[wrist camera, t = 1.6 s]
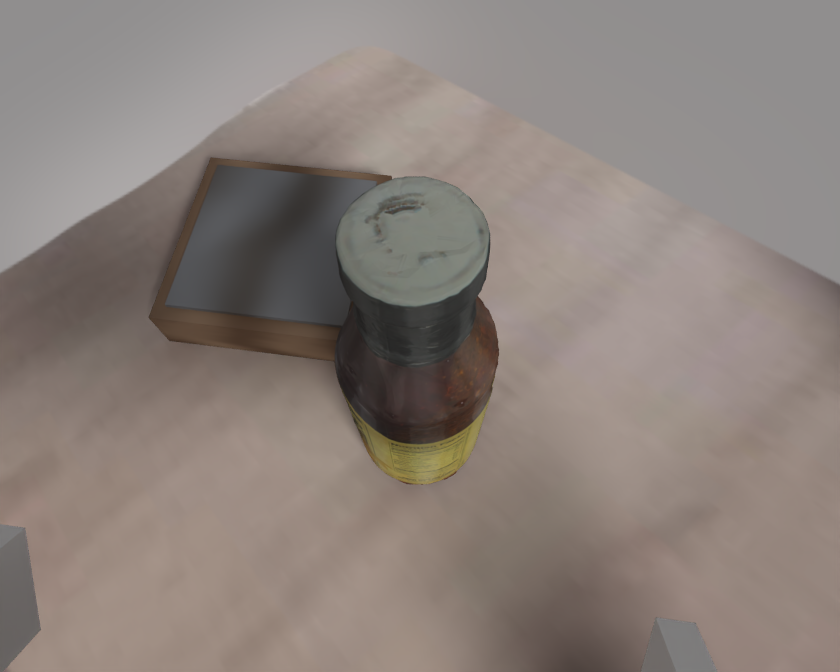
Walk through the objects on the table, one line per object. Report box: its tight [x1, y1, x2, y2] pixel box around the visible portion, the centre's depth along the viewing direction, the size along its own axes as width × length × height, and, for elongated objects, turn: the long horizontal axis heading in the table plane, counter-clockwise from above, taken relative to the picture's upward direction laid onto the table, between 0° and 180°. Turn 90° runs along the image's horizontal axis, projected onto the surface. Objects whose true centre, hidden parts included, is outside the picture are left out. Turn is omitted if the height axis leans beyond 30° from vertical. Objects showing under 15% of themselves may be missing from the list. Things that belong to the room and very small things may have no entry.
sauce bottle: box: [335, 177, 499, 485], centre depth 24 cm, size 6×6×20 cm
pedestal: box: [149, 158, 392, 361], centre depth 36 cm, size 12×12×3 cm
